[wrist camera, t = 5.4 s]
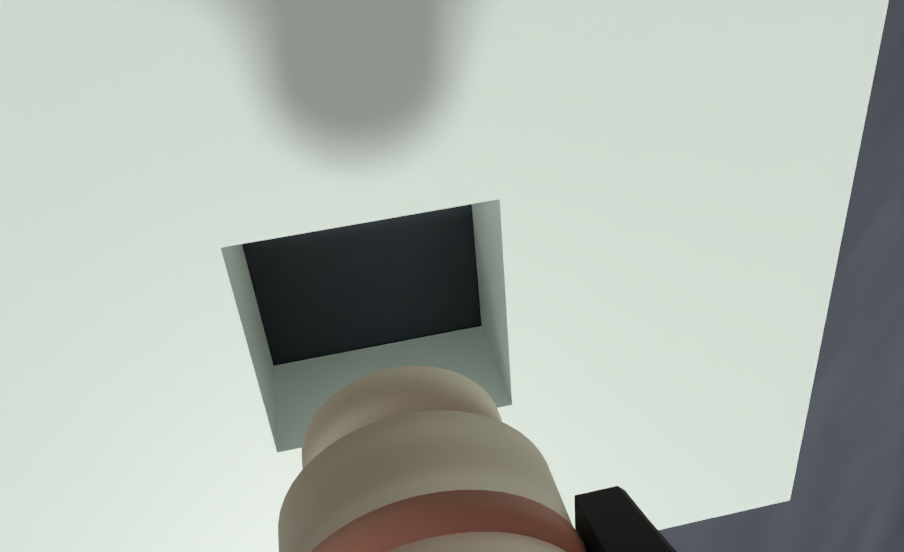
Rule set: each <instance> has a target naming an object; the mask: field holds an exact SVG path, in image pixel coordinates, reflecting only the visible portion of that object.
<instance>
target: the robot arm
mask: <svg viewBox="0 0 904 552" xmlns="http://www.w3.org/2000/svg"><path fill="white" fill-rule="evenodd" d="M575 530H576V531H577V532H578V534H579V536H580V537H581V539H582V540H583V542H584V544H585V547H586V549H587V551H588V552H677V551H676V550H675V549H674V548H673V547H672V546H671V545H670V544H669V543H668V541H667V540H666V539H665V538H664V537H663V536H662V535H661V533H660V532H659V531H658V530H657V529H656V528H655V526H654V525H653V524H652V523H651V522H650V521H649V519H648V518H647V517H646V516H645V515H644V513H643V512H642V511H641V510H640V508H639V507H638V506H637V505H636V504H635V502H634V501H633V500H632V499H631V497H630V496H629V495H628V493H627V492H626V491H625V490H624V489H622V488H620V487H619V486H615V487H610V488H606V489H601V490H597V491H592V492H588V493H583V494H579V495H575Z"/></svg>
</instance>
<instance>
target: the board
mask: <svg viewBox="0 0 904 552" xmlns="http://www.w3.org/2000/svg"><path fill="white" fill-rule="evenodd" d="M888 2H889V0H0V552H279V541H278V521H279V514H280V510H281V507H282V504H283V501H284V498H285V496H286V494H287V492H288V490H289V488H290V486H291V484H292V483H293V482H294V480H295V479H296V477H297V476H298V475H299V473H300V472H301V471H302V470H303V467H302V445H303V439H304V436H305V433H306V430H307V428H308V426H309V424H310V422H311V420H312V418H313V417H314V415H315V414H316V413H317V411H318V410H319V409H320V408H321V406H322V405H323V404H324V403H325V402H326V401H327V400H328V399H329V398H330V397H332V396H333V395H334V394H335V393H336V392H338V391H339V390H341V389H342V388H344V387H345V386H347V385H348V384H350V383H352V382H354V381H356V380H358V379H360V378H362V377H364V376H367V375H370V374H372V373H375V372H378V371H382V370H386V369H390V368H396V367H403V366H430V367H436V368H443V369H446V370H450V371H453V372H456V373H458V374H461V375H463V376H465V377H467V378H469V379H470V380H472V381H474V382H475V383H477V384H478V385H479V386H480V387H482V388H483V389H484V390H485V391H486V392H487V394H488V395H489V396H490V397H491V398H492V400H493V402H494V403H495V405H496V407H497V409H498V412H499V414H500V417H501V420H502V422H503V423H505V424H507V425H509V426H511V427H512V428H514V429H516V430H518V431H519V432H521V433H522V434H523V435H524V436H526V437H527V438H528V439H529V440H530V441H532V443H533V444H534V445H535V446H536V447H537V448H538V449H539V451H540V452H541V454H542V455H543V457H544V459H545V460H546V462H547V464H548V467H549V469H550V472H551V474H552V476H553V479H554V481H555V484H556V486H557V489H558V491H559V494H560V496H561V498H562V501H563V503H564V506H565V508H566V511H567V513H568V516H569V518H570V520H571V523H572V525H573V527H574V529H575V495H579V494H583V493H588V492H592V491H597V490H601V489H606V488H610V487H615V486H619V487H620V488H622V489H624V490H625V491H626V492H627V493H628V495H629V496H630V497H631V499H632V500H633V501H634V502H635V504H636V505H637V506H638V507H639V508H640V510H641V511H642V512H643V513H644V515H645V516H646V517H647V518H648V519H649V521H650V522H651V523H652V524H653V525H654V526H655V528H656V529H657V530H661V529H665V528H670V527H674V526H679V525H683V524H687V523H692V522H696V521H701V520H705V519H710V518H714V517H718V516H723V515H727V514H732V513H736V512H741V511H745V510H749V509H754V508H758V507H763V506H767V505H771V504H776V503H780V502H785V501H789V500H790V497H791V492H792V487H793V482H794V477H795V472H796V467H797V462H798V457H799V452H800V447H801V442H802V437H803V432H804V427H805V422H806V416H807V411H808V406H809V401H810V396H811V391H812V386H813V381H814V376H815V371H816V366H817V361H818V356H819V351H820V346H821V341H822V336H823V331H824V326H825V320H826V315H827V310H828V305H829V300H830V295H831V290H832V285H833V280H834V275H835V270H836V265H837V260H838V255H839V250H840V245H841V240H842V235H843V229H844V224H845V219H846V214H847V209H848V204H849V199H850V194H851V189H852V184H853V179H854V174H855V169H856V164H857V159H858V154H859V149H860V144H861V138H862V133H863V128H864V123H865V118H866V113H867V108H868V103H869V98H870V93H871V88H872V83H873V78H874V73H875V68H876V63H877V58H878V53H879V48H880V42H881V37H882V32H883V27H884V22H885V17H886V12H887V7H888ZM469 204H472V216H473V228H474V240H475V252H476V264H477V277H478V289H479V301H480V313H481V325H482V326H478V327H473V328H468V329H463V330H458V331H452V332H447V333H442V334H437V335H431V336H426V337H421V338H416V339H411V340H405V341H400V342H395V343H390V344H385V345H379V346H374V347H369V348H364V349H358V350H353V351H348V352H343V353H338V354H332V355H327V356H322V357H317V358H311V359H306V360H301V361H296V362H291V363H285V364H280V365H275V366H273V362H272V358H271V354H270V350H269V347H268V343H267V339H266V335H265V331H264V327H263V324H262V320H261V316H260V312H259V308H258V304H257V300H256V297H255V293H254V289H253V285H252V281H251V277H250V274H249V270H248V266H247V262H246V258H245V254H244V250H243V247H242V244H245V243H251V242H257V241H262V240H268V239H274V238H280V237H285V236H291V235H297V234H303V233H308V232H314V231H320V230H326V229H331V228H337V227H343V226H349V225H354V224H360V223H366V222H372V221H377V220H383V219H389V218H395V217H400V216H406V215H412V214H418V213H423V212H429V211H435V210H441V209H446V208H452V207H458V206H464V205H469Z"/></svg>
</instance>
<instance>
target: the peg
mask: <svg viewBox="0 0 904 552" xmlns="http://www.w3.org/2000/svg"><path fill="white" fill-rule="evenodd" d="M302 467H303V470H302V471H301V472H300V473H299V475H298V476H297V477H296V479H295V480H294V482H293V483H292V484H291V486H290V488H289V490H288V492H287V494H286V496H285V498H284V501H283V504H282V507H281V510H280V514H279V521H278V541H279V552H588V551H587V549H586V547H585V544H584V542H583V540H582V539H581V537H580V536H579V534H578V532H577V531H576V530H575V529H574V527H573V525H572V523H571V520H570V518H569V516H568V513H567V511H566V508H565V506H564V503H563V501H562V498H561V496H560V494H559V491H558V489H557V486H556V484H555V481H554V479H553V476H552V474H551V472H550V469H549V467H548V464H547V462H546V460H545V459H544V457H543V455H542V454H541V452H540V451H539V449H538V448H537V447H536V446H535V445H534V444H533V443H532V441H530V440H529V439H528V438H527V437H526V436H524V435H523V434H522V433H521V432H519V431H518V430H516V429H514V428H512V427H511V426H509V425H507V424H505V423H503V422H502V420H501V417H500V414H499V412H498V409H497V407H496V405H495V403H494V402H493V400H492V398H491V397H490V396H489V395H488V394H487V392H486V391H485V390H484V389H483V388H482V387H480V386H479V385H478V384H477V383H475V382H474V381H472V380H470V379H469V378H467V377H465V376H463V375H461V374H458V373H456V372H453V371H450V370H446V369H443V368H436V367H430V366H403V367H396V368H390V369H386V370H382V371H378V372H375V373H372V374H370V375H367V376H364V377H362V378H360V379H358V380H356V381H354V382H352V383H350V384H348V385H347V386H345V387H344V388H342V389H341V390H339V391H338V392H336V393H335V394H334V395H333V396H332V397H330V398H329V399H328V400H327V401H326V402H325V403H324V404H323V405H322V406H321V408H320V409H319V410H318V411H317V413H316V414H315V415H314V417H313V418H312V420H311V422H310V424H309V426H308V428H307V430H306V433H305V436H304V439H303V445H302Z"/></svg>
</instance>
